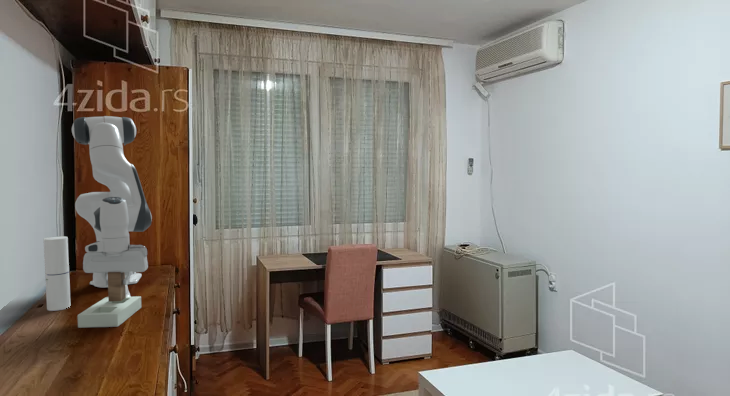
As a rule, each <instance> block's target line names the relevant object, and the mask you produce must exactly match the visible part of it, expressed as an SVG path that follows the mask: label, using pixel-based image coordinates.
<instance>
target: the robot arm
mask: <svg viewBox="0 0 730 396" xmlns="http://www.w3.org/2000/svg"><path fill="white" fill-rule="evenodd" d="M71 133H72V136H73V138H74V140H75V142H76V143H78V144H80V145H83V146H84V145H85V146H87V145H88V147H89V149H88V150H89V158H90V163H91V169H92V177H93V179H94V180H95V181H97V183H99V184H102V185H104V186H106V187H107V188H108V189H109V191H91V192H88V193H87V192H86V193H81V194H80V195H79V196H77V198H76V201H75V203H74V207H75V211H76V213H77V215H79V216H80V217H81V218H83V219H84V220H86V222H88V223H89V224H90V226H91V228H93V232H94V234H95V240H96V241H95V242H93V243H90V244H88V245H85V247H84V250H85V252H86V253H84V255H83V259H82V260H83V261H82V270H83V272H84V273H85V274H92V280H91V281H90V282H89V285H92V286H94V287H97V288H108V272H125V275H127V276H126V278H125V279H123V280H122V285H127V286H128V285H134V284H137V283H138V282H139V281H140V279H141V278H142V273H143V272H144V273H145V271H147V270H148V268H149V262H148V249H147V247H146V246H145V245H143V244H130V242H131V241H130V233H129V232H136V233H137V232H138V233H140V232H142V233H143V232H145V231H147V229H148V228H150V227H151V225H152V222H153V220H152V219H153V216H152V213H151V209H150V208H149V205H148V203H147V199H146V197H145V192H144V190H143V186H142V183H141V180H140V177H139V173H138V171H137V169H136V167H135V166H134V164H133V163H130V162H129V161H128V160H127V158H126V157H125V154H124V146H126V145H128V144H131V143H132V142H134V141H135V138H136V135H137V127H136V124H135V123H134V120H133V119H132V118H131V117H126V116H122V117H119V116H111V115H109V116H108V115H104V116H89V117H88V116H87V117H85V116H82V117H77V118H75V119H74V121H73V123H72V126H71Z"/></svg>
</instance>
